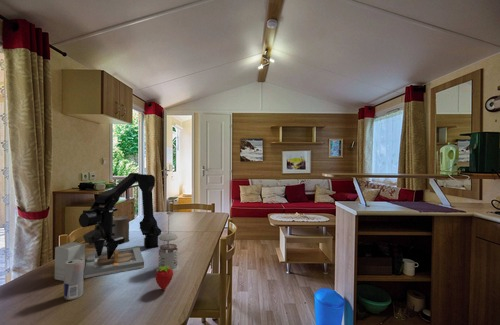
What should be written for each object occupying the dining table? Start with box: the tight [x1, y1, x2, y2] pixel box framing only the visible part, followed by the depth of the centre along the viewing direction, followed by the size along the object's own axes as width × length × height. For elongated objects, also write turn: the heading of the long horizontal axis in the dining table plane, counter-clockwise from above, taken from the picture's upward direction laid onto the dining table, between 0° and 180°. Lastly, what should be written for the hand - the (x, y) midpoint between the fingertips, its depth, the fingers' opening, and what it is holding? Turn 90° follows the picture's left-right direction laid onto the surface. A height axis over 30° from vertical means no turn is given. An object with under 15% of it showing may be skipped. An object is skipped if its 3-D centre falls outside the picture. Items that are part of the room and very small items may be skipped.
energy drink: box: [63, 258, 84, 301], centre depth 86 cm, size 5×5×12 cm
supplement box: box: [54, 241, 86, 282], centre depth 100 cm, size 7×7×13 cm
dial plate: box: [83, 246, 145, 279], centre depth 114 cm, size 22×22×3 cm
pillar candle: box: [112, 215, 130, 243], centre depth 145 cm, size 10×10×15 cm
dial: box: [97, 249, 132, 266], centre depth 114 cm, size 14×14×5 cm
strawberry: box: [154, 265, 174, 291], centre depth 91 cm, size 6×8×10 cm
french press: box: [155, 210, 180, 273], centre depth 110 cm, size 10×12×25 cm
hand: (104, 257), depth 110 cm, fingers open, 6 cm apart
